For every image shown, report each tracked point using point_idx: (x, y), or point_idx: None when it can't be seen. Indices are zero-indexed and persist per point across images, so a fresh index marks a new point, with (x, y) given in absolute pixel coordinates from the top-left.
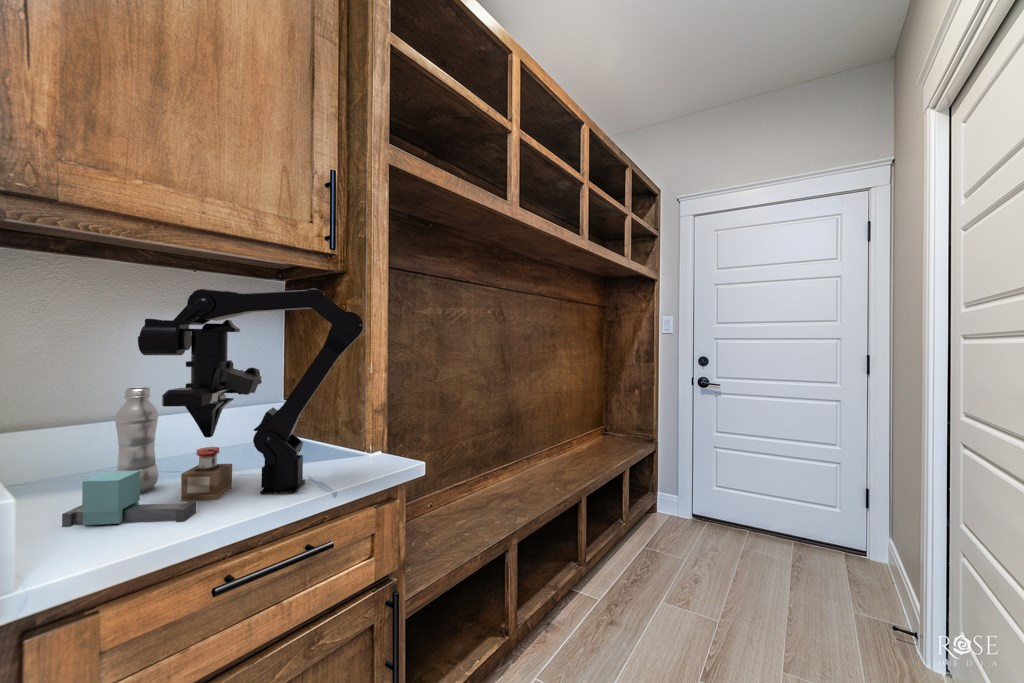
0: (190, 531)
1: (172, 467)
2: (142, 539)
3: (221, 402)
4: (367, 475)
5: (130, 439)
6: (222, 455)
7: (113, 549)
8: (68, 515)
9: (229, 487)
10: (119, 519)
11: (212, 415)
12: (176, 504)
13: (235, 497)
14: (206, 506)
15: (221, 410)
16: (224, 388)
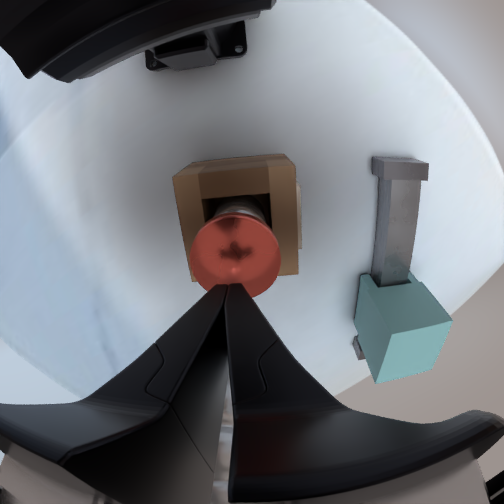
0: (452, 125)
1: (93, 363)
2: (466, 191)
3: (369, 477)
4: None
5: None
6: (19, 319)
7: (482, 212)
8: None
9: (206, 161)
10: (410, 273)
11: (297, 373)
12: (399, 197)
13: (266, 112)
14: (331, 154)
15: (110, 387)
16: None
